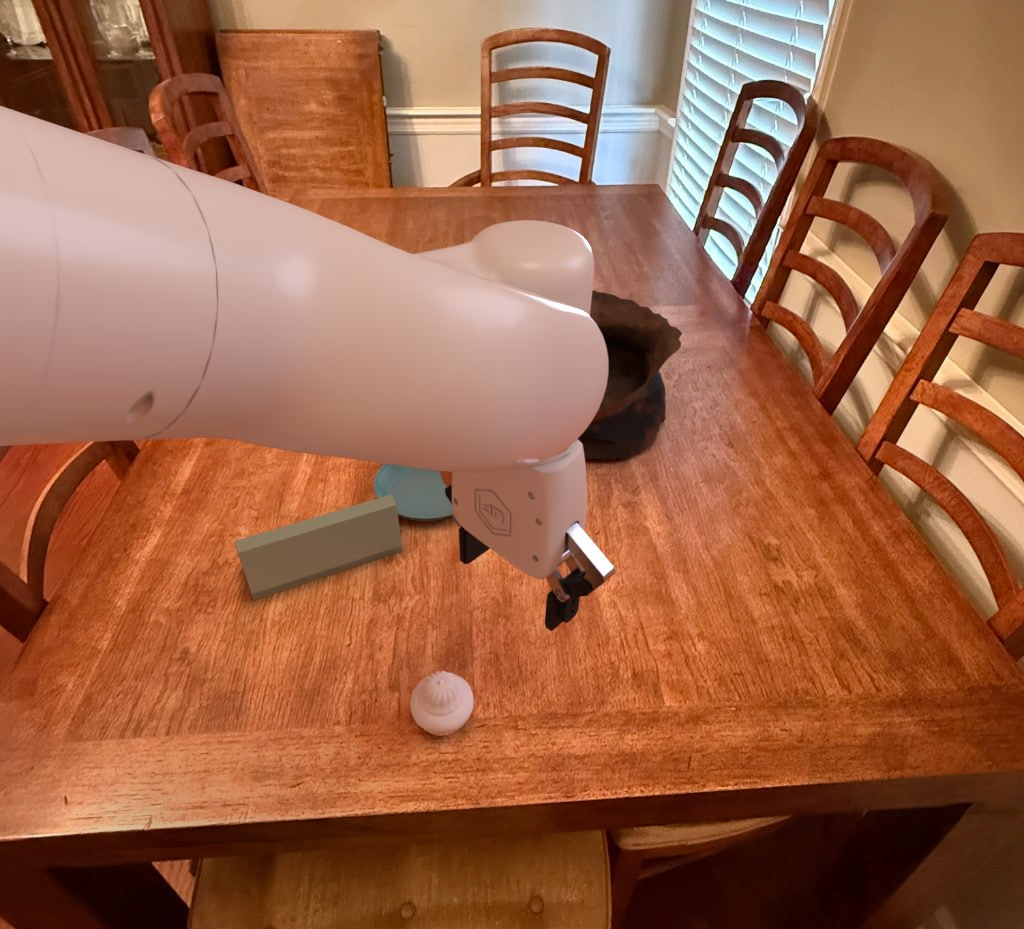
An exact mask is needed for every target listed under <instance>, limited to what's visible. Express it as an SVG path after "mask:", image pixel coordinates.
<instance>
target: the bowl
mask: <svg viewBox="0 0 1024 929" xmlns="http://www.w3.org/2000/svg"><path fill="white" fill-rule="evenodd" d="M590 317H591V318H592V319H593V320H594V322H595V323H596V324H597V326H598V328H599V329H600V331H601V333H602V335H603V338H604V341H605V344H606V347H607V354H608V379H607V386H606V390H605V393H604V397H603V400H602V402H601V404H600V407H599V409H598V411H597V413H596V415H595V417H594V418H593V420H592V422H591V423H590V424H589V426H588V427H587V428H586V430H585V431H584V432H583V433H582V434H581V436H580V437H579V438H578V440H579V441H580V442H581V443H582V444H583V450H584V457H585V460H610V461H614V460H621V459H622V458H624V459H628V458H630V457H632V456H634V455H635V454H640V453H641V452H644V451H645V450H647V449H648V448H650V447H651V446H652V445H653V444H654V443H655V441H656V439H657V437H658V433H659V431H660V427H661V424H663V423H664V422H665V421H666V420H667V416H666V413H667V412H666V411H667V408H666V406H667V405H666V395H667V394H666V386H665V382H664V381H663V378H662V374H661V373H660V370H661V368H662V367H663V366H664V364H665V363H666V362H667V361H668V359H670V358H671V357H672V356H673V355H674V354H676V352H678V351H679V350H680V348H682V341H681V340H680V338H681V336H682V335H683V332H682V331H681V330H680V329H679V328H677V327H676V326H672V325H671V324H670V323H669V321H668V318H666V317H664V316H662V315H661V313H657V312H656V313H655V312H653V311H652V309H650V307H649V306H641V305H640V304H639V303H638V302H635V301H634V300H633V299H627V298H621V297H619V296H617V295H615V294H611V293H607V292H601V291H597V290H594V289H593V290H592V299H591V309H590Z"/></svg>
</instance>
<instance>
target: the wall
mask: <svg viewBox="0 0 1024 929" xmlns="http://www.w3.org/2000/svg"><path fill="white" fill-rule="evenodd" d="M234 545H235V549H236V553H237V556H238V559H239V561H240V564H241V567H242V571H243V574H244V576H245V579H246V582H247V585H248V588H249V591H250V594H251V597H252V600H253V601H256V600H259V599H262V598H266V597H268V596H272V595H275V594H278V593H281V592H283V591H287V590H289V589H293V588H296V587H300V586H302V585H305V584H308V583H311V582H314V581H317V580H321V579H323V578H326V577H330V576H332V575H335V574H338V573H342V572H345V571H348V570H351V569H354V568H357V567H359V566H362V565H365V564H369V563H372V562H375V561H378V560H381V559H384V558H387V557H391V556H393V555H397V554H398V553H402V552H403V547H402V538H401V531H400V521H399V515H398V512H397V504H396V503H395V501H394V499H393V497H392V495H388V496H384V497H381V498H374V499H371V500H367V501H364V502H361V503H358V504H355V505H350V506H348V507H345V508H341V509H337V510H334V511H331V512H327V513H325V514H320V515H318V516H314V517H311V518H307V519H304V520H300V521H297V522H293V523H291V524H287V525H284V526H280V527H277V528H274V529H270V530H267V531H263V532H260V533H256V534H253V535H249V536H247V537H243V538H240V539H237V540H234Z"/></svg>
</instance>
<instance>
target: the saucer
mask: <svg viewBox="0 0 1024 929" xmlns="http://www.w3.org/2000/svg"><path fill="white" fill-rule="evenodd" d="M445 488H447V486H446V484H444V482H443V479H442V477H441V474H440V472H439V471H436V470H428V469H420V468H412V467H405V466H399V465H391V464H384V463H382V465H381V467H380V468H379V469H378V470H377V472H376V474H375V476H374V480H373V490H374V491H373V492H374V494H375V496H376V499H378V498H381V497H384V496H388V495H392V497H393V499H394V501H395V503H396V504H397V512H398V517H401V518H404V519H407V520H411V521H415V522H417V521H418V522H436V521H442V520H445V519H449V518H453V509H452V504H451V503H450V501H449V499H448V498H447V497H446V494H445Z"/></svg>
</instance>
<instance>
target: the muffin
mask: <svg viewBox="0 0 1024 929" xmlns="http://www.w3.org/2000/svg"><path fill="white" fill-rule="evenodd" d="M474 703H475V698H474V693H473V691H472V687H471V686H470V684H469V682H467V680H465V679H464V678H463V677H461V676H459V675H458V674H455V673H453V672H447V671H446V670H442V671H439V670H437V671H435V673H430V675H428V676H426V677H424V678H422V679H420V681H419V682H418V683H417V684H416V685H415V687H414V688H413V690H412V692H411V695H410V698H409V710H410V713H411V714H410V715H411V717H412V718H413V721H414V723H416V724H417V726H418V727H420V728H421V729H423V731H424V732H427V733H429V734H430V735H431V734H432V735H434V736H438V737H440V736H441V737H444V736H445V737H447V736H450V735H453V734H454V733H455V732H457V731H458V730H460V729H462V728H463V726H464V725H466V722H467V721H468V720H469V719H470V717H471V715H472V713H473V710H474V705H475V704H474Z"/></svg>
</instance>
